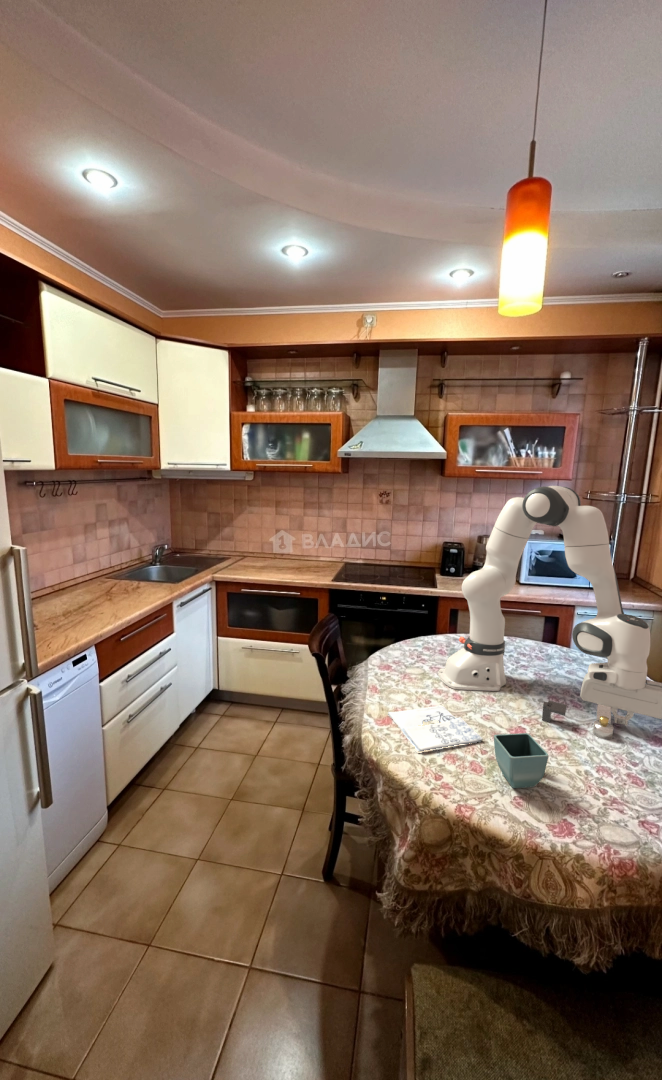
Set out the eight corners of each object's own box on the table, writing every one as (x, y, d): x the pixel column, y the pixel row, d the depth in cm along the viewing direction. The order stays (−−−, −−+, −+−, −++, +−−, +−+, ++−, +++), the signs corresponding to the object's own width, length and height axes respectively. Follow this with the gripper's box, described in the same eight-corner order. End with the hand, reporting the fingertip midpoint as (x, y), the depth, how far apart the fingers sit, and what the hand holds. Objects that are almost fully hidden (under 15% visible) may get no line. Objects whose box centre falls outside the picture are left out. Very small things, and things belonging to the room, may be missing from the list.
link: (612, 741, 113) (613, 731, 112) (592, 736, 115) (593, 726, 115) (612, 716, 125) (613, 707, 124) (594, 712, 127) (595, 703, 127)
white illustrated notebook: (417, 757, 109) (418, 749, 109) (386, 715, 128) (386, 708, 128) (484, 744, 114) (484, 737, 114) (444, 706, 134) (444, 699, 133)
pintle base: (620, 759, 108) (623, 736, 107) (536, 735, 118) (538, 714, 117) (619, 725, 123) (621, 704, 122) (544, 706, 133) (546, 687, 132)
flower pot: (490, 769, 104) (492, 734, 103) (525, 767, 105) (528, 732, 103) (508, 795, 95) (510, 757, 94) (546, 793, 96) (549, 755, 95)
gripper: (673, 680, 114) (667, 729, 116) (583, 662, 125) (579, 707, 127) (676, 690, 109) (669, 741, 111) (582, 670, 120) (577, 717, 122)
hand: (620, 723), depth 119 cm, fingers closed
